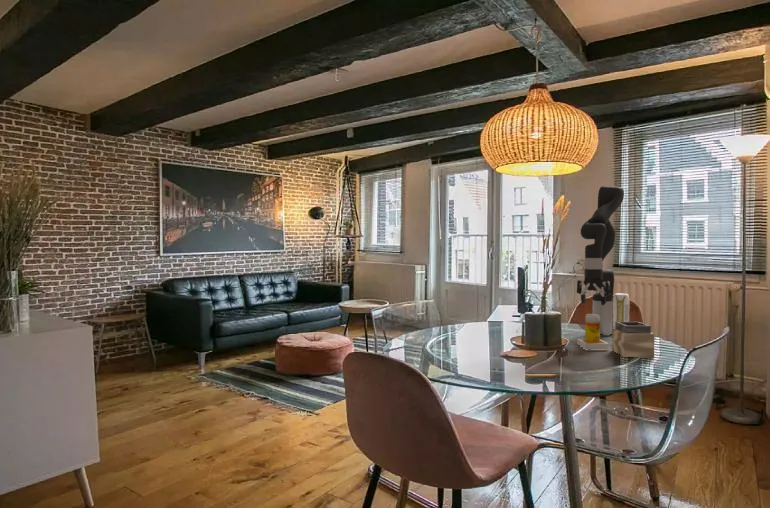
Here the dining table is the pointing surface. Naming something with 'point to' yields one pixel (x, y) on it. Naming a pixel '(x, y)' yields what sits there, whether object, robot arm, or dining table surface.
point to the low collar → (593, 344)
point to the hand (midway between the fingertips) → (593, 304)
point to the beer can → (592, 328)
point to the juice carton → (620, 308)
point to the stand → (633, 339)
